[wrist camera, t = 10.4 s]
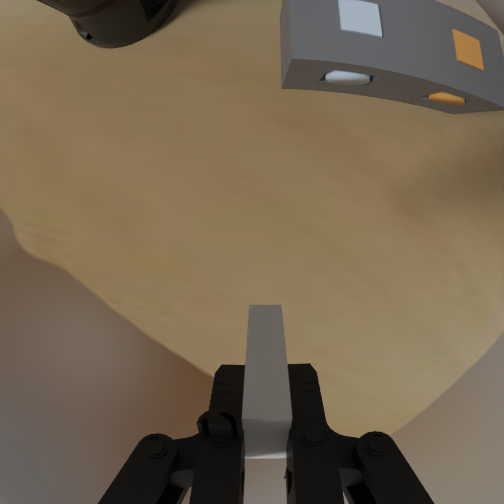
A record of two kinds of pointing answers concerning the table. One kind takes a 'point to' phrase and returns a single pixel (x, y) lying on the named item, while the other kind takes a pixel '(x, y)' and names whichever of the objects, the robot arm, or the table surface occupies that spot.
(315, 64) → the button console
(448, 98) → the orange button
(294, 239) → the table surface
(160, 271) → the table surface
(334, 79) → the pale blue button
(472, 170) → the table surface
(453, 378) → the table surface
